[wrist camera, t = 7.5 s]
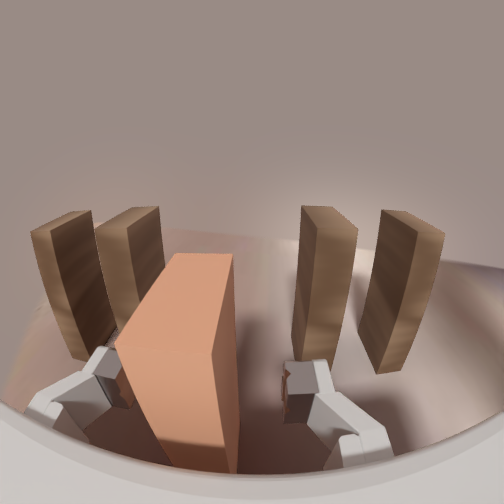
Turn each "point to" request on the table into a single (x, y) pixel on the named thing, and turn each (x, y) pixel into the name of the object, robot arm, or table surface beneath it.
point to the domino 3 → (188, 361)
